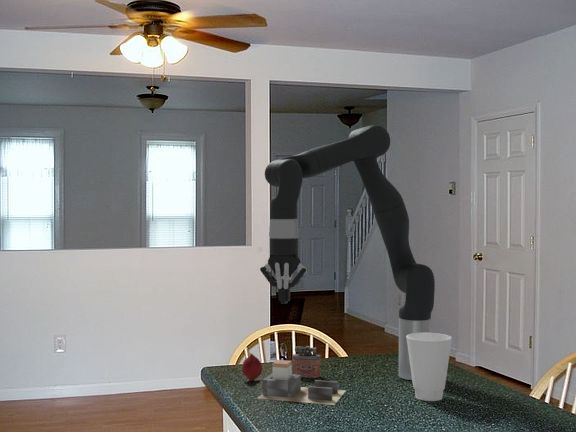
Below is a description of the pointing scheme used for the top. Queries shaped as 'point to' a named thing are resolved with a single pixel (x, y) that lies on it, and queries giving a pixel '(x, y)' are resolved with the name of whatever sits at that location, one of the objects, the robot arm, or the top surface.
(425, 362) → the cup
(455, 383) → the top surface
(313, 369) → the lighter
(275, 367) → the plug
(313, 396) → the panel
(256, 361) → the onion
